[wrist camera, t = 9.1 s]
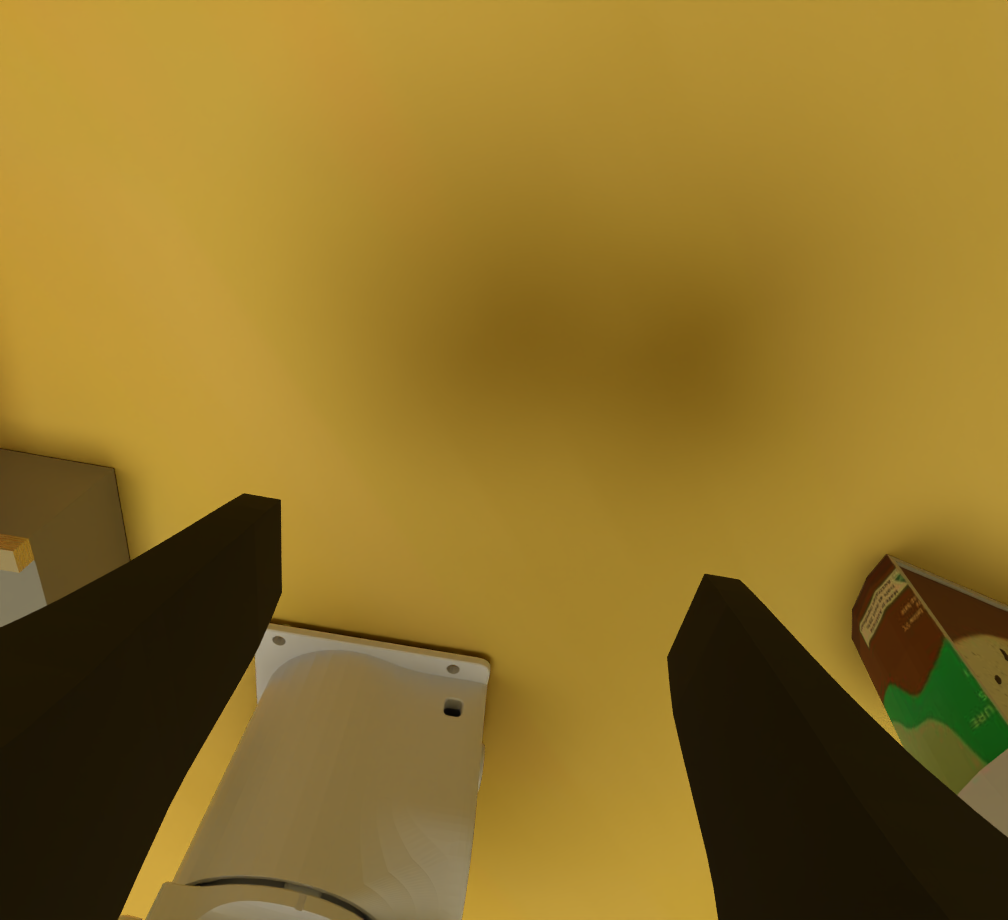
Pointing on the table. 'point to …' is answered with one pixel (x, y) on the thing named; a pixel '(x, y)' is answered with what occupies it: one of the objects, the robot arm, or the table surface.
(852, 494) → the table surface
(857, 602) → the food container
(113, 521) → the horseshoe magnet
